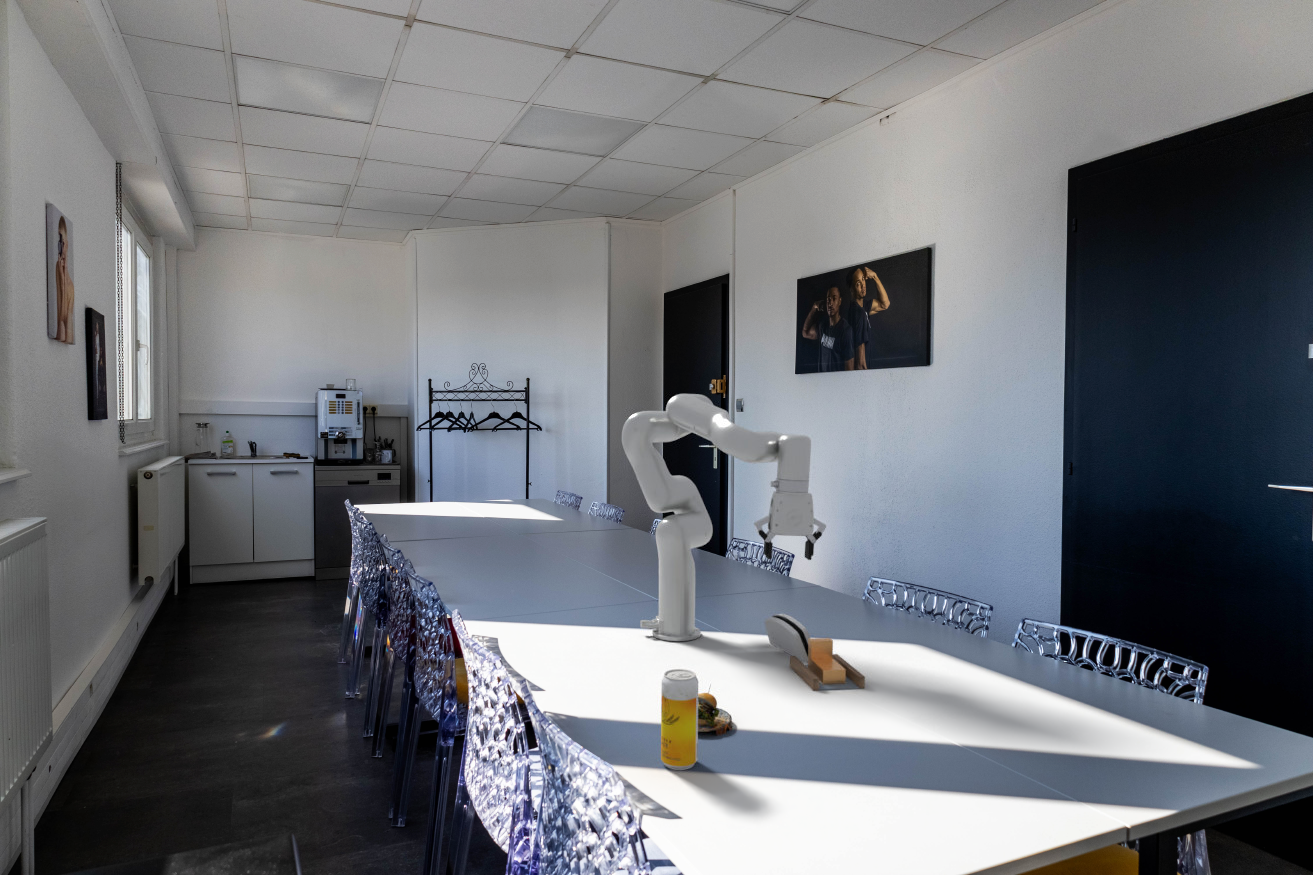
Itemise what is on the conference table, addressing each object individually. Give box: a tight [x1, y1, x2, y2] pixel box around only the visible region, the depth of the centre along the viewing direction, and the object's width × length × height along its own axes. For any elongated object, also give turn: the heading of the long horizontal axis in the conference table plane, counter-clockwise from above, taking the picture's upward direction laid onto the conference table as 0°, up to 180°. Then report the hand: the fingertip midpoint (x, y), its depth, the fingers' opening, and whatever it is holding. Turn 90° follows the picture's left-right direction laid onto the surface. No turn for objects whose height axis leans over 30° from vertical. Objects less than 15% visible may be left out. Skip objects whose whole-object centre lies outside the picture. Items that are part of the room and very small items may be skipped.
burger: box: [698, 684, 733, 736], centre depth 151 cm, size 12×12×8 cm
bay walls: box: [789, 653, 866, 692], centre depth 179 cm, size 11×16×2 cm
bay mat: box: [804, 664, 860, 691], centre depth 179 cm, size 9×16×1 cm, turn 9°
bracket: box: [807, 637, 846, 684], centre depth 178 cm, size 10×5×7 cm, turn 8°
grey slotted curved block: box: [764, 613, 812, 663], centre depth 198 cm, size 17×5×10 cm, turn 22°
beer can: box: [660, 668, 699, 771], centre depth 134 cm, size 6×6×15 cm
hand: (788, 558), depth 192 cm, fingers open, 9 cm apart
